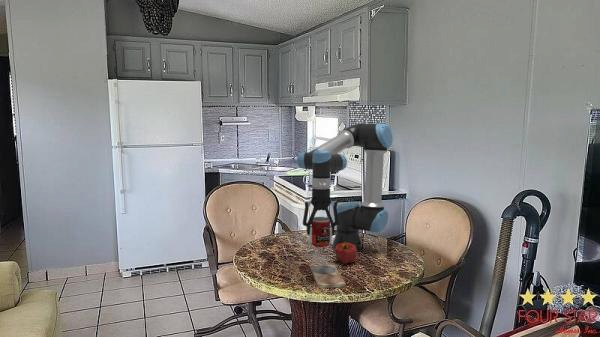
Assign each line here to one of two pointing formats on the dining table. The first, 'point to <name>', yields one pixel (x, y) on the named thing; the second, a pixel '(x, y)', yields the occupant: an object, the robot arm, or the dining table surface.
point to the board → (327, 276)
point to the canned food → (320, 231)
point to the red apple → (346, 252)
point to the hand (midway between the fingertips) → (320, 241)
